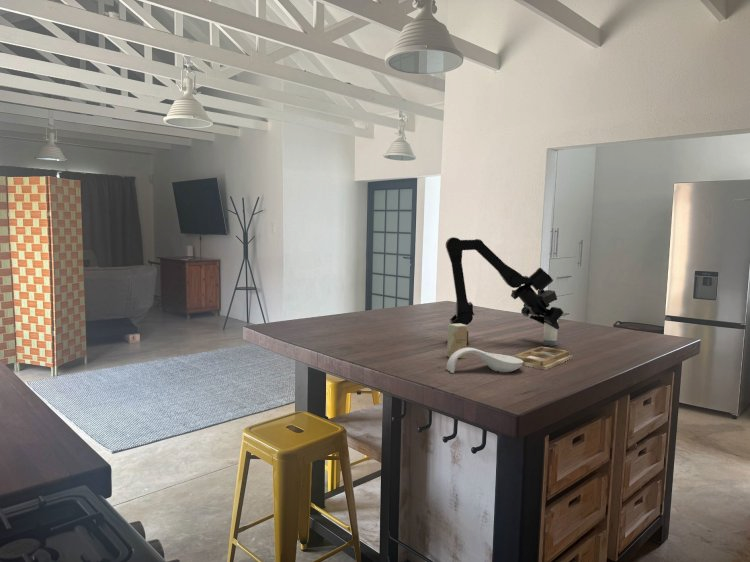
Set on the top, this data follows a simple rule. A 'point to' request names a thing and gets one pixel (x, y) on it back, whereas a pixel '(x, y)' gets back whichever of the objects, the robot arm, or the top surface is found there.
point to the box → (456, 338)
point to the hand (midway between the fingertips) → (553, 327)
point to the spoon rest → (487, 360)
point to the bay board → (543, 357)
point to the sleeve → (550, 335)
